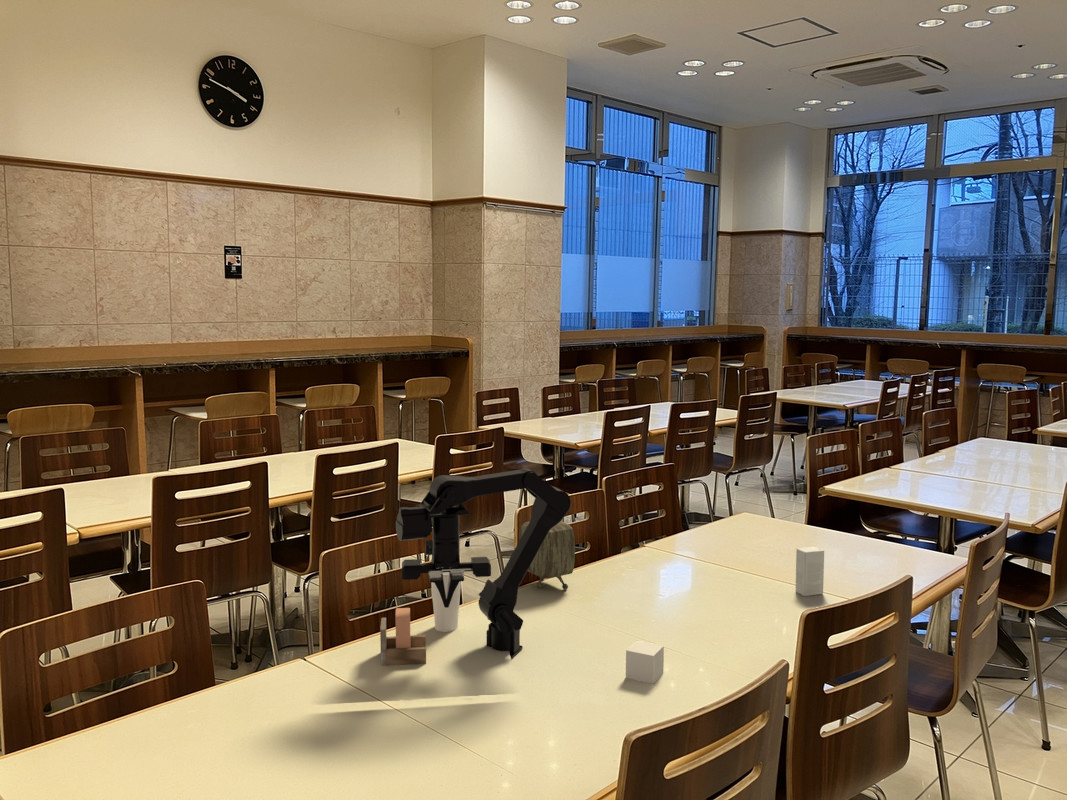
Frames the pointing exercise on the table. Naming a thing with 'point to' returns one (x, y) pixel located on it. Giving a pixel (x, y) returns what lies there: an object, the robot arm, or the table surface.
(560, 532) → the tabletop clock
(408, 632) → the salmon pink block
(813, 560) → the skincare box
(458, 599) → the drinking glass
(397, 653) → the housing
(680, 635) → the table surface
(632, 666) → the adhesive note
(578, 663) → the table surface
